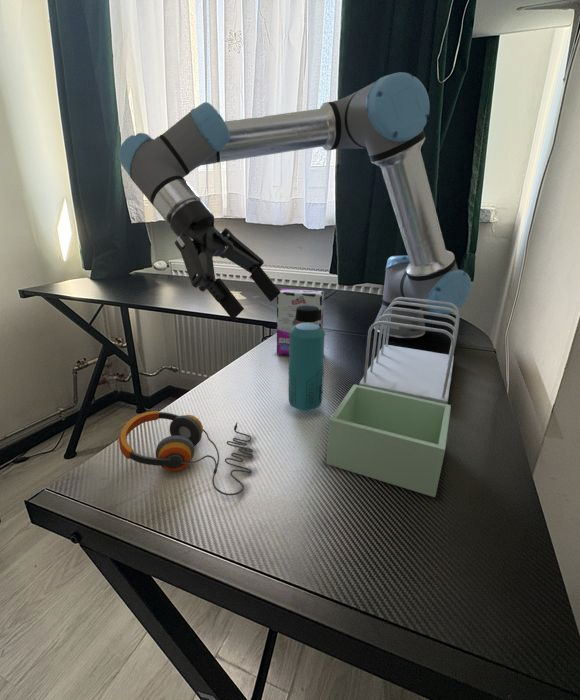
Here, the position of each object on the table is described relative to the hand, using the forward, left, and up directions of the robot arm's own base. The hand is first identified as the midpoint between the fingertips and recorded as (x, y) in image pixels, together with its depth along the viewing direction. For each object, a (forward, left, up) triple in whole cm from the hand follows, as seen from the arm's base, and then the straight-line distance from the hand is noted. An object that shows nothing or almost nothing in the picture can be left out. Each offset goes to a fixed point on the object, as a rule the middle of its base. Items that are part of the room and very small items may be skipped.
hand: (258, 305), depth 68 cm
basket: (+7, +27, -19) cm, 34 cm away
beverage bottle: (0, +10, -19) cm, 22 cm away
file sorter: (-25, +25, -19) cm, 40 cm away
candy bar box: (-25, -2, -19) cm, 32 cm away
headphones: (+21, 0, -19) cm, 28 cm away
